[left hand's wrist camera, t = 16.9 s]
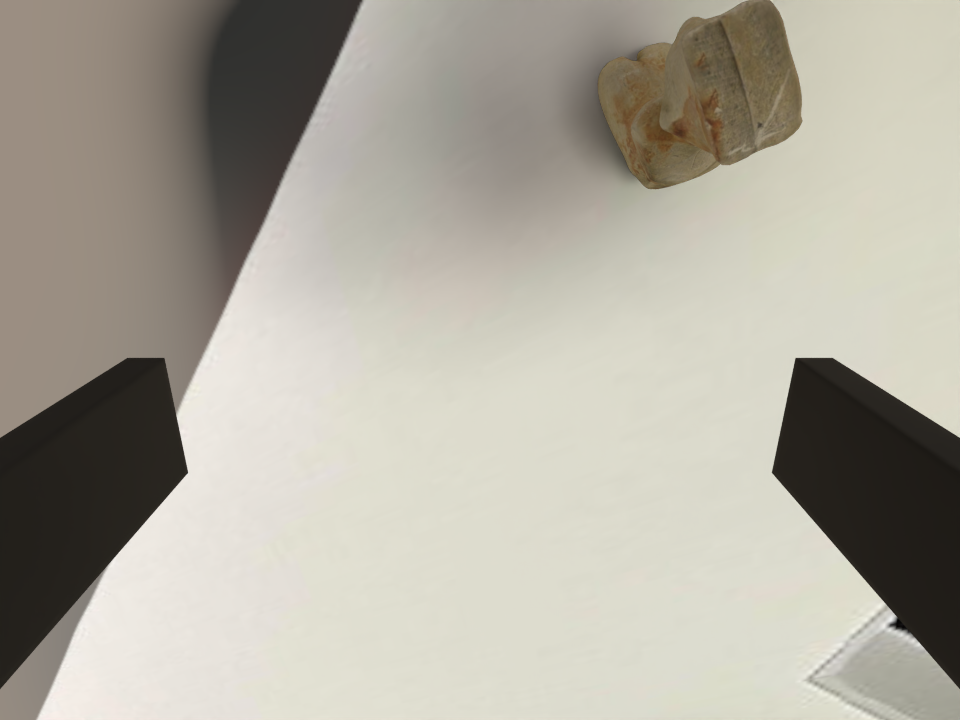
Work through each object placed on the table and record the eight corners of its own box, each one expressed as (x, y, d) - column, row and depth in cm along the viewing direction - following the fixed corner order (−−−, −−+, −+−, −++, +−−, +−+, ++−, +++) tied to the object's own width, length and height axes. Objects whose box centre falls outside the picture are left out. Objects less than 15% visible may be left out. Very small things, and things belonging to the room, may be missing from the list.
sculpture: (678, 34, 33) (827, -42, 19) (705, 162, 35) (854, 179, 21) (578, 73, 33) (649, 27, 19) (611, 195, 36) (695, 234, 22)
